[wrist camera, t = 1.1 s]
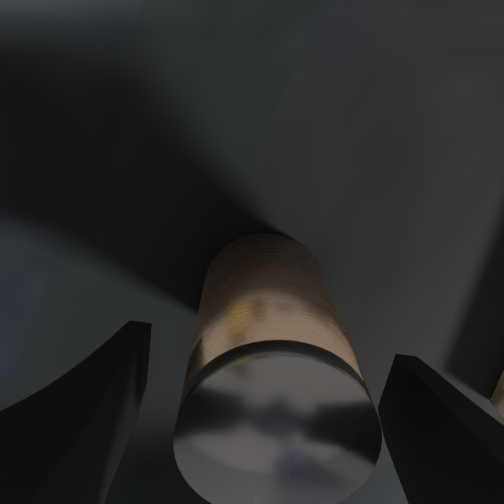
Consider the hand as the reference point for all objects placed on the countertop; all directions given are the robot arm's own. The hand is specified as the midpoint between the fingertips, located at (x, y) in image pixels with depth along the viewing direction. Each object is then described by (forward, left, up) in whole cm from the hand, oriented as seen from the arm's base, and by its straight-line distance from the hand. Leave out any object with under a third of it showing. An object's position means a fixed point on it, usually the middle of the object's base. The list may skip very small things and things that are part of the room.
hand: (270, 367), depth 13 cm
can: (0, 0, -5) cm, 5 cm away
